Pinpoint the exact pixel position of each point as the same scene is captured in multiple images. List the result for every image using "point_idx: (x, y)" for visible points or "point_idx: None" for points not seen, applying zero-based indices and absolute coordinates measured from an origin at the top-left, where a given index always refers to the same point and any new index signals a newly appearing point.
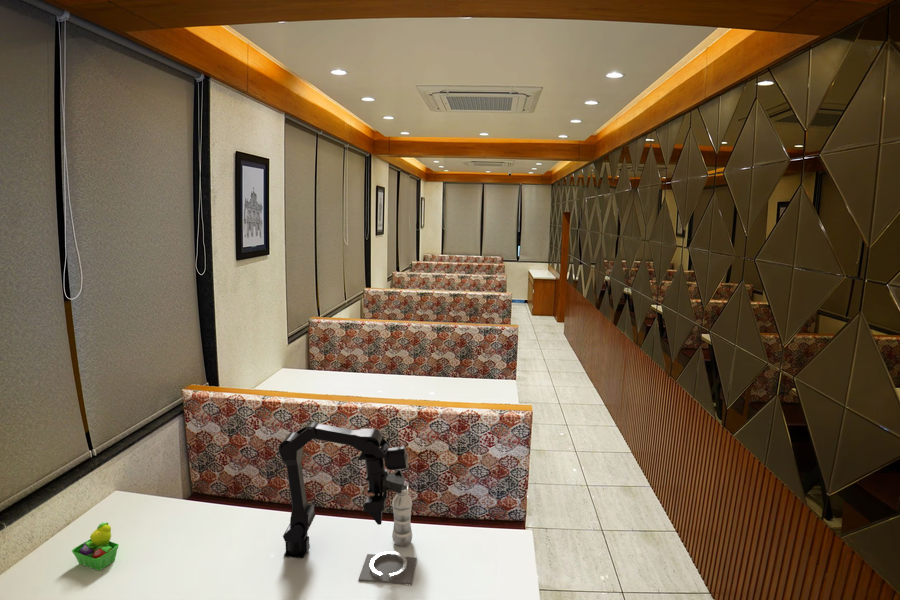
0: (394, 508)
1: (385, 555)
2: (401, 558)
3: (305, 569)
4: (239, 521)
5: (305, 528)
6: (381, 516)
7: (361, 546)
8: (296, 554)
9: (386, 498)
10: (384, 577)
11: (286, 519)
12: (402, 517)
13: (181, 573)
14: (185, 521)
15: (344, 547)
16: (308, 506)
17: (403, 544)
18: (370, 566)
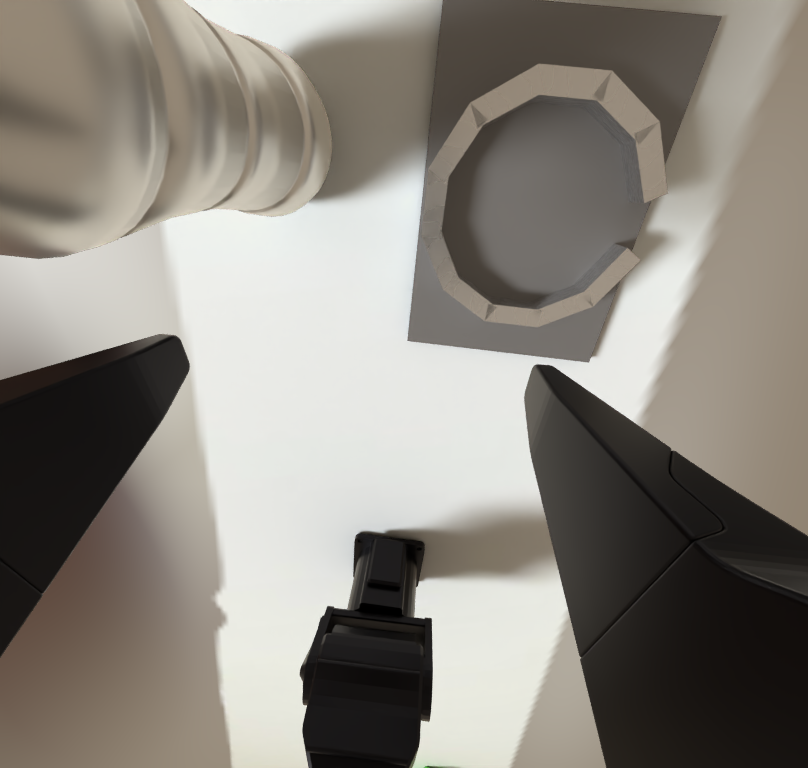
0: (147, 208)
1: (445, 243)
2: (487, 123)
3: (481, 529)
4: (274, 664)
5: (423, 672)
6: (645, 440)
7: (342, 369)
8: (416, 564)
9: (49, 385)
10: (609, 231)
11: (236, 593)
12: (215, 84)
13: (470, 710)
14: (296, 723)
15: (355, 432)
16: (328, 758)
17: (329, 124)
18: (548, 321)
